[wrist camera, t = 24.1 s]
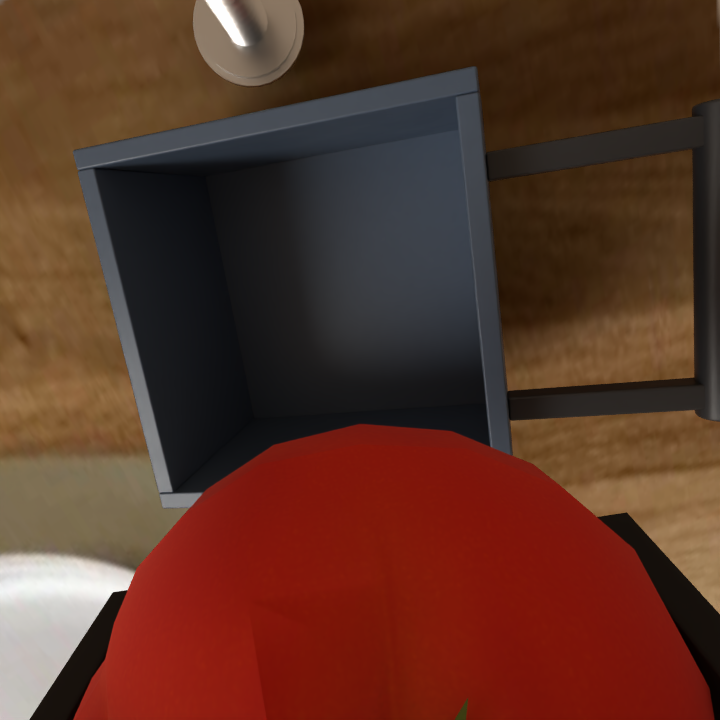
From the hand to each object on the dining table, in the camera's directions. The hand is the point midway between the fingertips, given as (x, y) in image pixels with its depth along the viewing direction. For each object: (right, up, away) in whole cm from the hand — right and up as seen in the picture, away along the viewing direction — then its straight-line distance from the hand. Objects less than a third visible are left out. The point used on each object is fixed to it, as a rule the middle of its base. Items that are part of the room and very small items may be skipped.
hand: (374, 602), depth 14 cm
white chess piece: (-5, +21, +13) cm, 26 cm away
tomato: (0, 0, 0) cm, 0 cm away
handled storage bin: (+3, +10, +14) cm, 17 cm away
